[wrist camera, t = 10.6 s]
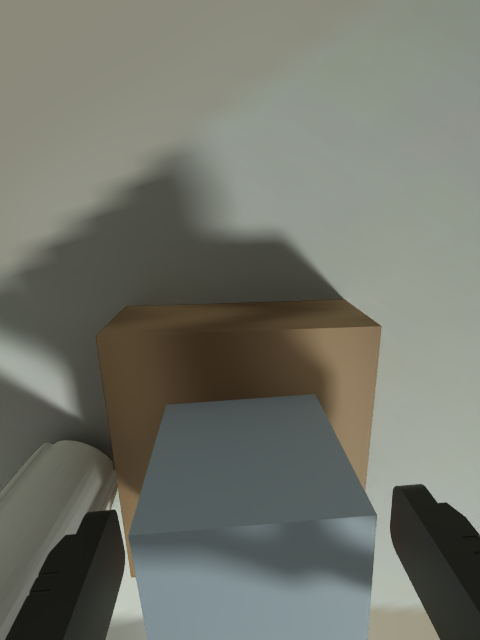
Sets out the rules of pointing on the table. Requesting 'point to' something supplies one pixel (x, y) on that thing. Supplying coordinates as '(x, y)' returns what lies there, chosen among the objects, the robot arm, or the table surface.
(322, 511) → the top brick
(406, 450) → the table surface
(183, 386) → the base brick
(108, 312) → the table surface
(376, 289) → the table surface
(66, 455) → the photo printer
